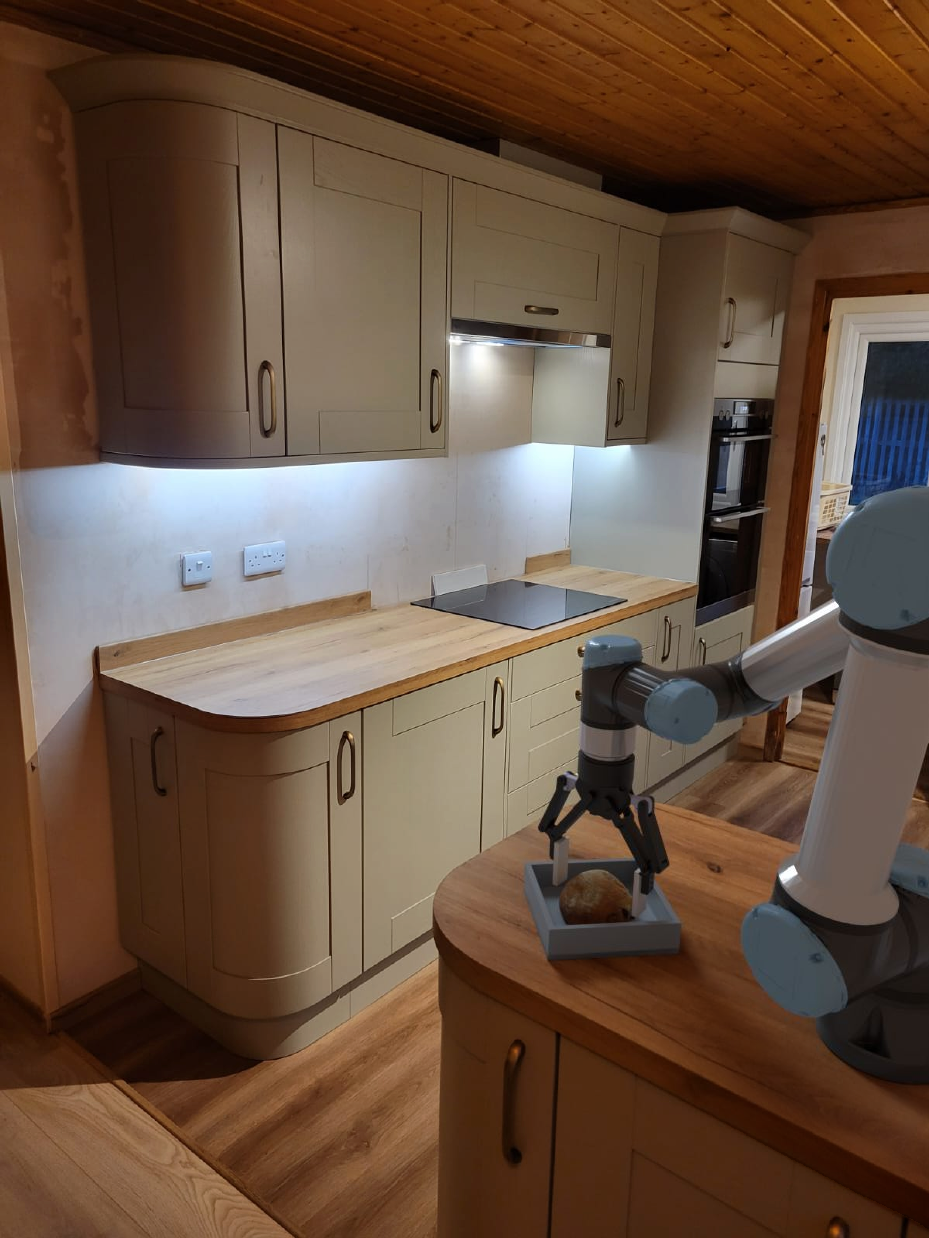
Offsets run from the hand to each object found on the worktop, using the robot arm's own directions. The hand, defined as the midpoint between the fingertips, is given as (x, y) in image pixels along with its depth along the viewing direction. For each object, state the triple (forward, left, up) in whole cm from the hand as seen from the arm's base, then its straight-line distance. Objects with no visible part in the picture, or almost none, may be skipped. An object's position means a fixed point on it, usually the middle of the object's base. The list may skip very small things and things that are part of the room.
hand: (598, 896), depth 130 cm
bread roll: (0, 0, -3) cm, 3 cm away
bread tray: (0, 0, -4) cm, 4 cm away
